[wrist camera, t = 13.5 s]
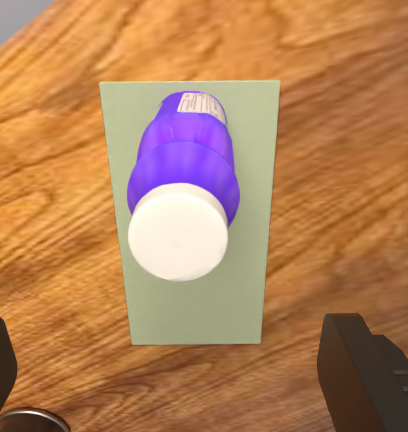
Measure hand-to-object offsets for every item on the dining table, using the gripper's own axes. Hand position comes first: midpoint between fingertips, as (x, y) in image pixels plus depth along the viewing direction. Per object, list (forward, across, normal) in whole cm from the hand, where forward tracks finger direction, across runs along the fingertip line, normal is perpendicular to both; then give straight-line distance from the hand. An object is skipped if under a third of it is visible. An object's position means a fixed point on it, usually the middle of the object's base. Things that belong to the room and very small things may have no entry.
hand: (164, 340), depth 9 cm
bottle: (+23, 0, 0) cm, 23 cm away
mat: (+24, 0, +10) cm, 26 cm away
